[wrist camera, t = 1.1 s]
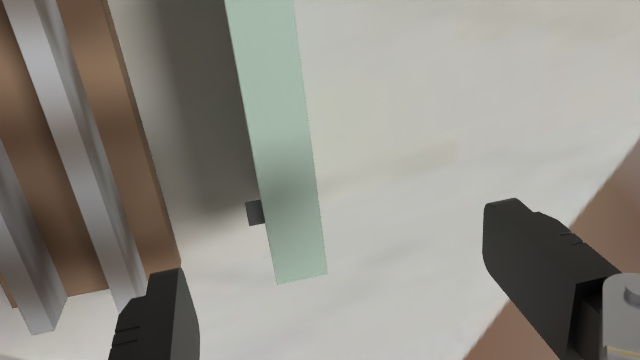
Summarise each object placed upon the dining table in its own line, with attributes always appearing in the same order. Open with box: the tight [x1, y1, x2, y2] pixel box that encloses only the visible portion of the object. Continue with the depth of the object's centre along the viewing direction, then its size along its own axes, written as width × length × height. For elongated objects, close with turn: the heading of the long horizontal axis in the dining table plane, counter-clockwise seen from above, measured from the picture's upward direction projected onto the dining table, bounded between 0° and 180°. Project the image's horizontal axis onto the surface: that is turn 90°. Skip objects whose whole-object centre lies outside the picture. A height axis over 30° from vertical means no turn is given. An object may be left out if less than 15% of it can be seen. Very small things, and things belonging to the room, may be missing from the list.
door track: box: [0, 0, 181, 335], centre depth 25 cm, size 22×10×4 cm, turn 7°
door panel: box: [223, 0, 328, 285], centre depth 25 cm, size 14×3×10 cm, turn 6°
